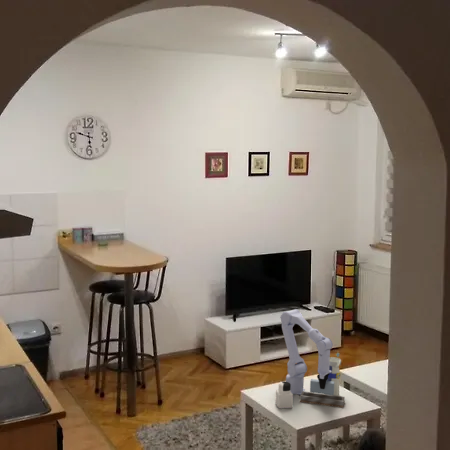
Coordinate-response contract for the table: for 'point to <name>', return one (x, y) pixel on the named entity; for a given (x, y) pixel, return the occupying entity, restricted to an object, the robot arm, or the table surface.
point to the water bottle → (335, 373)
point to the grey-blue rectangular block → (316, 389)
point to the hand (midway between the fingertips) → (322, 387)
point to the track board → (322, 399)
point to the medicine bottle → (284, 395)
